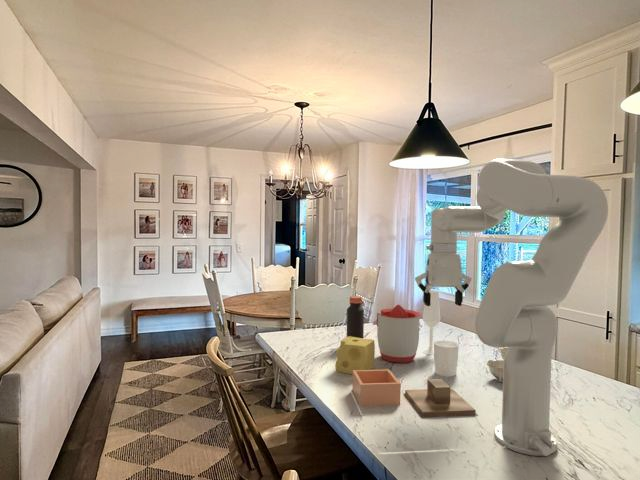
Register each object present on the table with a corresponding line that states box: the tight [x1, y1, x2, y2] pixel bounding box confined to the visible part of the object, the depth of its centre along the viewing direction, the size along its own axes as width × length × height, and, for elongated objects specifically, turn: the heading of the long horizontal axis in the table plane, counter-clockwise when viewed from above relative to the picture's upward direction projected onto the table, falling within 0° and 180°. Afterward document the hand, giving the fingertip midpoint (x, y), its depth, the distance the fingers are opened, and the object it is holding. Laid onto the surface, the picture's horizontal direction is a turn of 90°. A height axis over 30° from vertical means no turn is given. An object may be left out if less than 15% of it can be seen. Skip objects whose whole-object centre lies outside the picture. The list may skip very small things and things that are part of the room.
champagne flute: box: [421, 289, 442, 356], centre depth 158 cm, size 7×7×24 cm
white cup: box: [433, 340, 460, 377], centre depth 135 cm, size 8×8×10 cm
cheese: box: [334, 336, 376, 375], centre depth 137 cm, size 10×11×10 cm
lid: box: [404, 378, 477, 417], centre depth 111 cm, size 14×14×6 cm
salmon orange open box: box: [351, 369, 402, 407], centre depth 115 cm, size 11×11×6 cm
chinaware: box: [486, 347, 508, 383], centre depth 135 cm, size 28×17×17 cm, turn 149°
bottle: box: [346, 295, 365, 338], centre depth 165 cm, size 7×7×20 cm
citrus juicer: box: [372, 304, 421, 364], centre depth 150 cm, size 16×17×20 cm
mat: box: [403, 392, 479, 419], centre depth 111 cm, size 15×15×1 cm
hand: (442, 305), depth 124 cm, fingers open, 9 cm apart
